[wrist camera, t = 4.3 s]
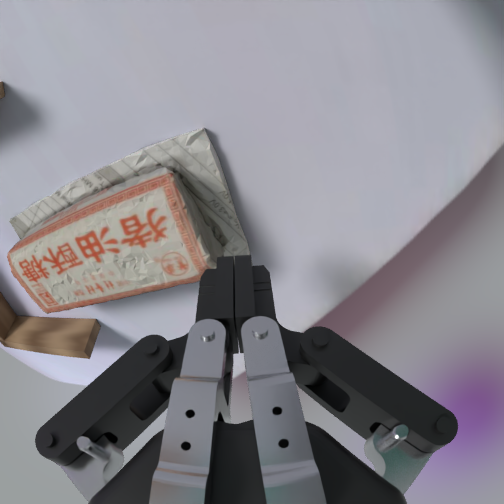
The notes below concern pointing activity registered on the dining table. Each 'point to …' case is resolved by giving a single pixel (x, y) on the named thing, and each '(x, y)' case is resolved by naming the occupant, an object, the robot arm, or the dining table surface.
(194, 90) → the dining table surface
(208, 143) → the packaged product
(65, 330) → the frame
